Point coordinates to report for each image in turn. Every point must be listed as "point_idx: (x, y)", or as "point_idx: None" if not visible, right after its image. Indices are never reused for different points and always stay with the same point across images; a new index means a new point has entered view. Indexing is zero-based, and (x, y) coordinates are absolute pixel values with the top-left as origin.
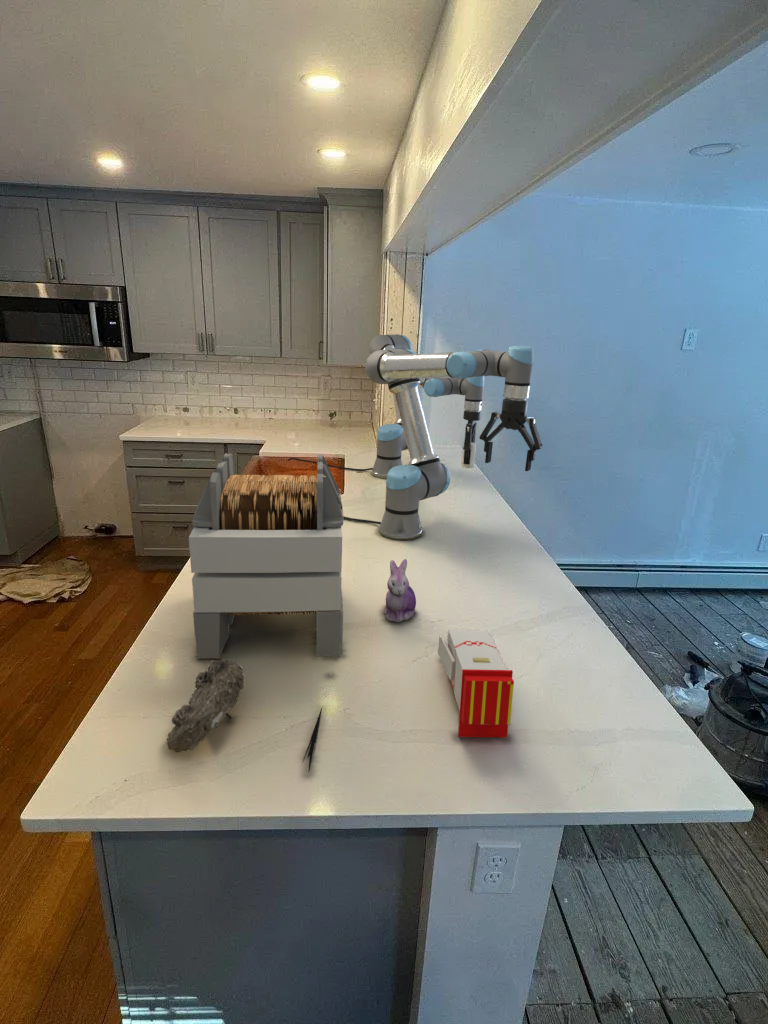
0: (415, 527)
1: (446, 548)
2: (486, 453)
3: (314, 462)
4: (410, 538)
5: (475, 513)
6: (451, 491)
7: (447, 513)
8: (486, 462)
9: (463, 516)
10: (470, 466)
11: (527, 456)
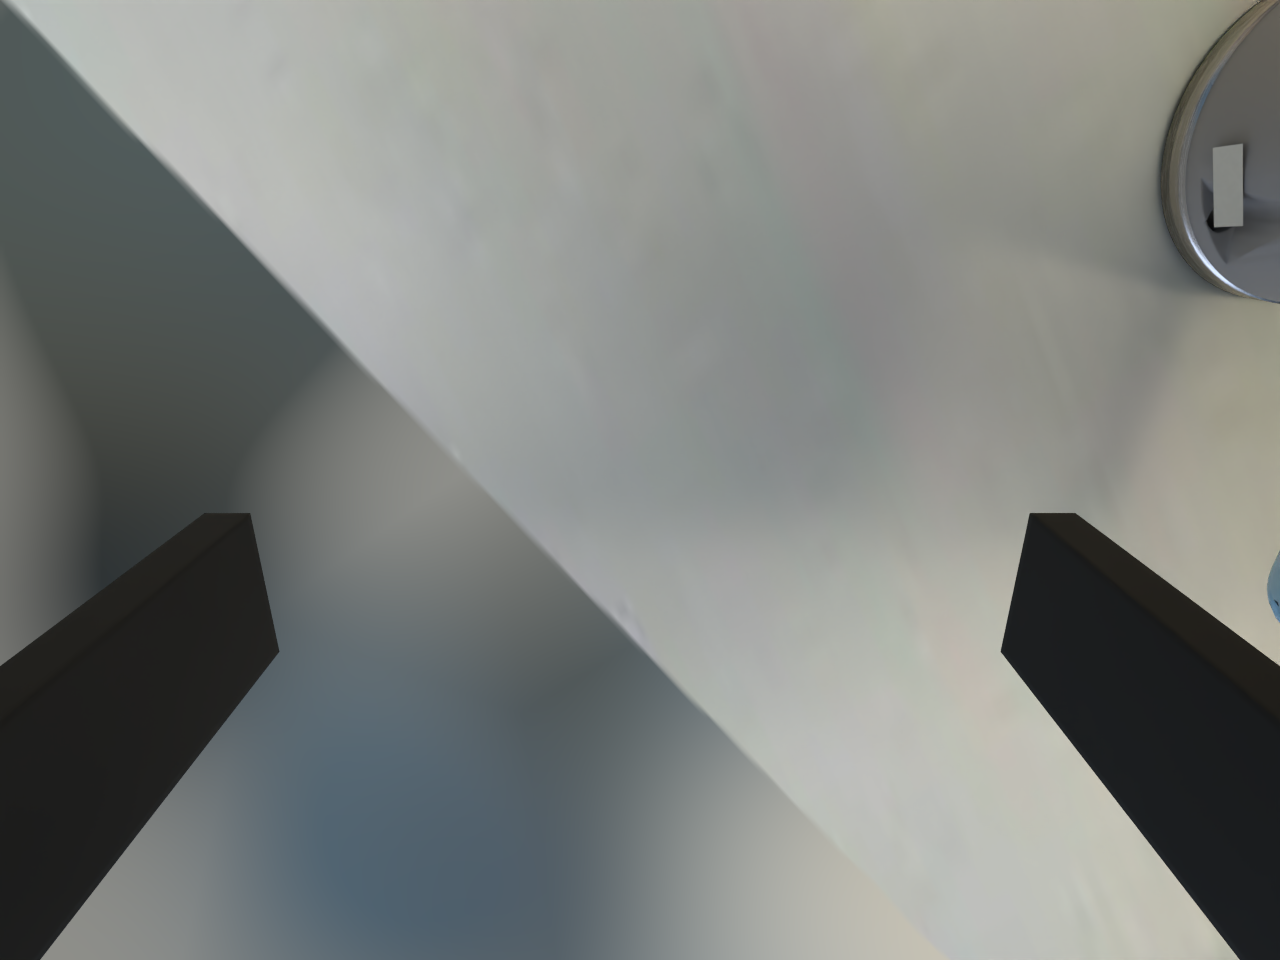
0: (1248, 106)
1: (923, 106)
2: (1197, 612)
3: None
4: (1213, 53)
5: (970, 736)
6: (1206, 932)
7: None
8: (1050, 516)
9: None
10: None
11: (16, 687)
